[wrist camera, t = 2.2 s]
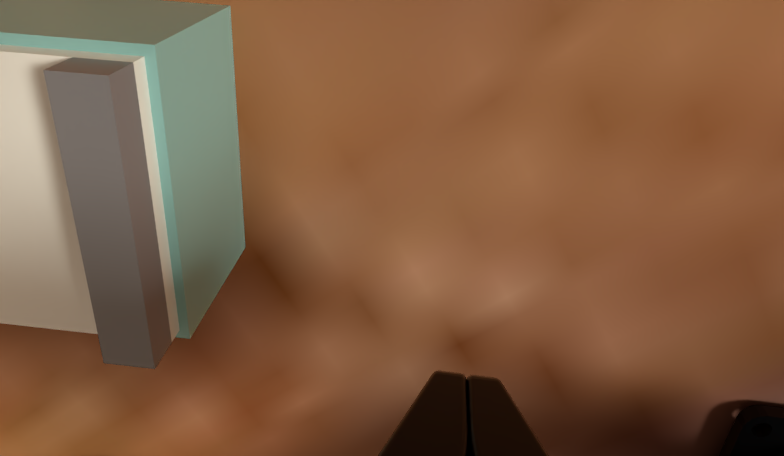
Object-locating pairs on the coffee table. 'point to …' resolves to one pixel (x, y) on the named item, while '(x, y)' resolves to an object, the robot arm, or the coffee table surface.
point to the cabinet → (117, 169)
